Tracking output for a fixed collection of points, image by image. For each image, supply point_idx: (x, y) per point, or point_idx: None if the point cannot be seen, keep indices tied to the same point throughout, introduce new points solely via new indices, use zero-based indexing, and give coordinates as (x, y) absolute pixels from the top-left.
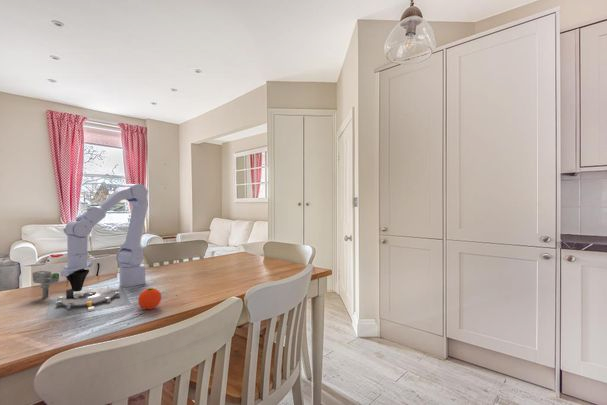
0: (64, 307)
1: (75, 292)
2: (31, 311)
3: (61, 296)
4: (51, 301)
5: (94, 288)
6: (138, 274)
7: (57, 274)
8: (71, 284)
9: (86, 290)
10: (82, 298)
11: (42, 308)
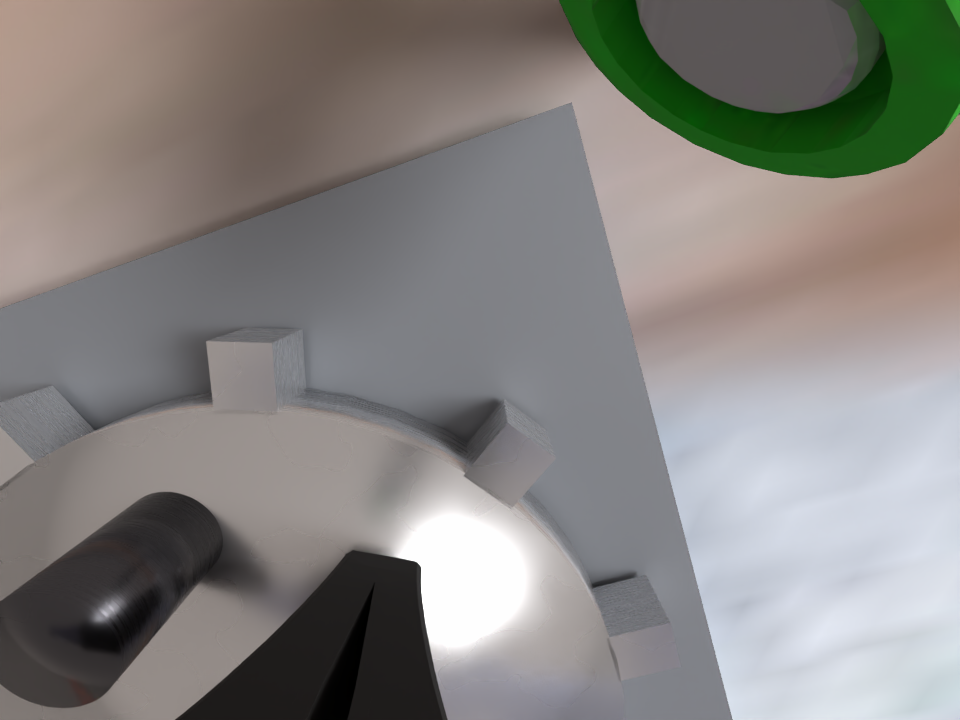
0: None
1: (471, 518)
2: (81, 66)
3: (581, 261)
4: (337, 213)
5: (622, 710)
6: None
7: (947, 3)
8: (248, 668)
9: (539, 638)
10: (106, 706)
11: (190, 168)
